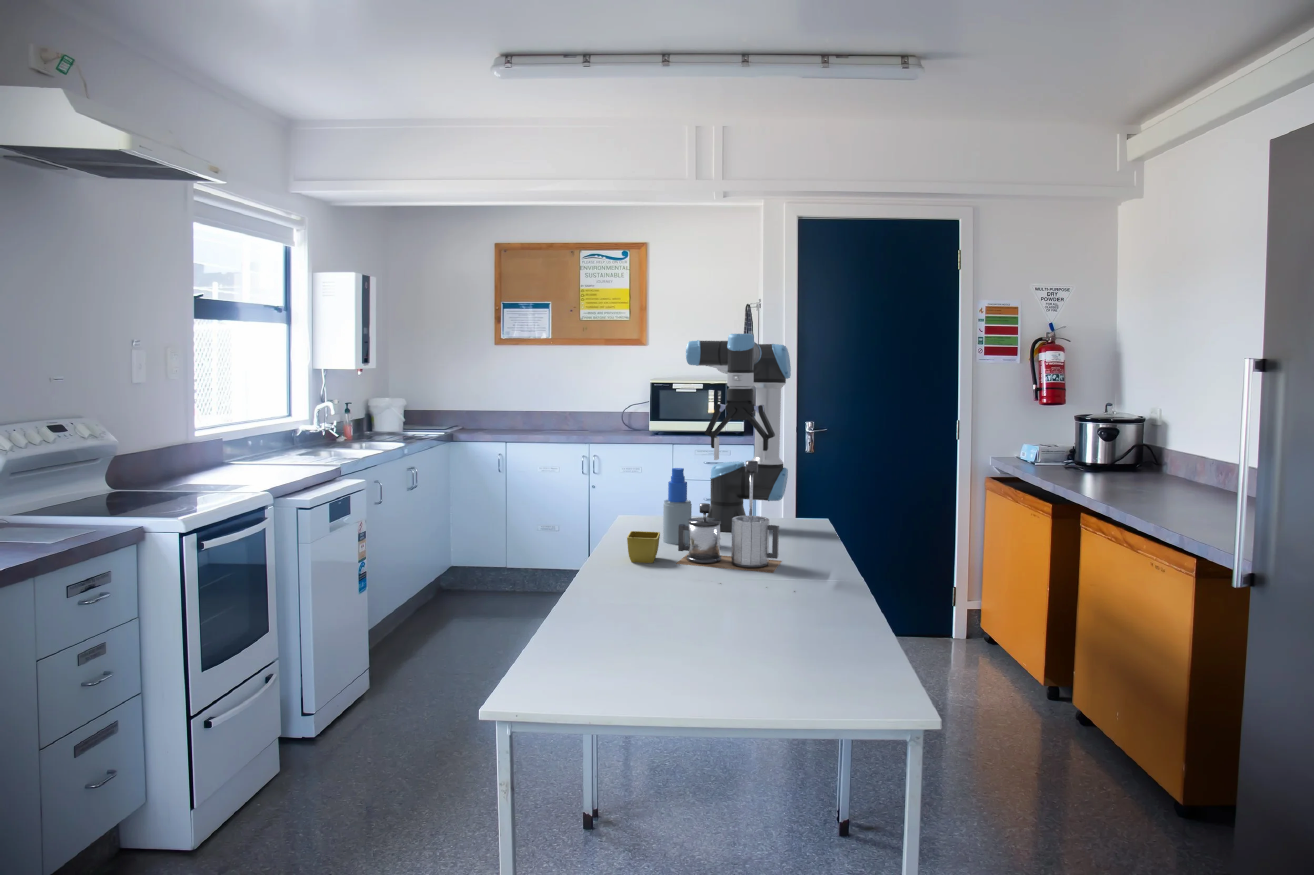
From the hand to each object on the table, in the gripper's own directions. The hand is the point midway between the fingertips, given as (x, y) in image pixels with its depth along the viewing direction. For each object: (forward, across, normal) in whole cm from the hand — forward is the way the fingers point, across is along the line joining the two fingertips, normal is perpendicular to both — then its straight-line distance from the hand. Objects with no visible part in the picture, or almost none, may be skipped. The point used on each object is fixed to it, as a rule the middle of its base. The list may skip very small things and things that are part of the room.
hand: (739, 460), depth 234 cm
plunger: (+18, +5, -6) cm, 20 cm away
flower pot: (+30, -25, -13) cm, 41 cm away
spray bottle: (+31, -23, +13) cm, 40 cm away
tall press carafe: (+29, +7, -6) cm, 30 cm away
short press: (+29, -10, -7) cm, 31 cm away
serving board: (+30, -1, -7) cm, 31 cm away
